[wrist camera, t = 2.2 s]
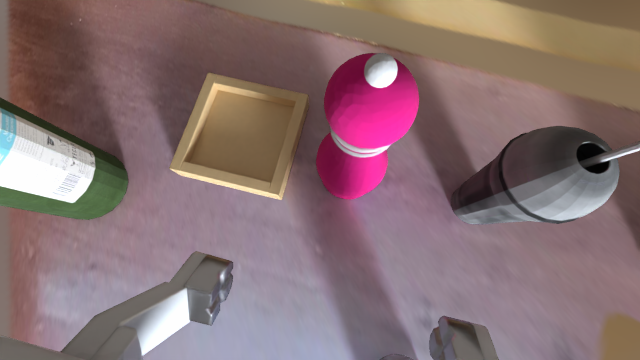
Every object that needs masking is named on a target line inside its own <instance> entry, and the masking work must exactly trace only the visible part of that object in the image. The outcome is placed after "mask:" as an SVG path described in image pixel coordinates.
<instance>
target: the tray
mask: <svg viewBox="0 0 640 360" xmlns="http://www.w3.org/2000/svg"><path fill="white" fill-rule="evenodd" d="M308 108H309V96H308V95H307V94H303V93H298V92H293V91H289V90H284V89H280V88H275V87H271V86H266V85H262V84H257V83H253V82H249V81H244V80H240V79H235V78H231V77H226V76H222V75H217V74H212V73H208V74H207V76H206V79H205V81H204V84H203V86H202V89H201V91H200V94H199V96H198V98H197V101H196V103H195V106H194V108H193V111H192V113H191V116H190V118H189V121H188V123H187V126H186V128H185V130H184V133H183V135H182V138H181V140H180V143H179V145H178V148H177V150H176V153H175V155H174V158H173V160H172V162H171V165H170V167H169V169H171V170H173V171H174V172H176V173H177V174H179V175H182V176H186V177H190V178H194V179H198V180H202V181H206V182H210V183H214V184H218V185H222V186H227V187H231V188H235V189H239V190H243V191H247V192H251V193H255V194H259V195H263V196H267V197H271V198H275V199H279V200H282V198H283V194H284V191H285V187H286V184H287V180H288V177H289V173H290V170H291V166H292V163H293V160H294V156H295V153H296V149H297V146H298V142H299V139H300V135H301V132H302V128H303V125H304V122H305V118H306V115H307V111H308Z"/></svg>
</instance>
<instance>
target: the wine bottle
mask: <svg viewBox="0 0 640 360" xmlns="http://www.w3.org/2000/svg"><path fill="white" fill-rule="evenodd" d="M127 185H128V176H127V171H126V169H125V167H124V165H123V163H122V162H121V161H119V160H118V159H117V158H116V157H115V156H113V155H111V154H109V153H107V152H105V151H103V150H101V149H99V148H97V147H95V146H93V145H91V144H90V143H88V142H86V141H84V140H82V139H80V138H78V137H76V136H74V135H72V134H70V133H68V132H66V131H64V130H62V129H60V128H58V127H56V126H54V125H53V124H51V123H49V122H47V121H45V120H43V119H41V118H39V117H37V116H35V115H33V114H31V113H29V112H27V111H25V110H23V109H21V108H19V107H17V106H16V105H14V104H12V103H10V102H8V101H6V100H4V99H2V98H0V206H6V207H11V208H17V209H23V210H29V211H34V212H40V213H46V214H51V215H57V216H63V217H68V218H74V219H85V220H89V219H93V218H97V217H101V216H103V215H105V214H106V213H108V212H110V211H112V210H113V209H114V208H115V207H116V206H117V205H118V204H119V203H120V202H121V200H122V198H123V196H124V195H125V193H126V189H127Z"/></svg>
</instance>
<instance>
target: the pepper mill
mask: <svg viewBox="0 0 640 360" xmlns="http://www.w3.org/2000/svg"><path fill="white" fill-rule="evenodd" d="M418 107H419V93H418V88H417V85H416V82H415V79H414V77H413V76H412V74H411V72H410V71H409V70H408V69H407V67H406V66H405V65H404V64H402V63H401V62H400V61H398V60H397V59H395V58H393V57H392V56H390V55H389V54H386V53H378V54H376V53H368V54H362V55H359V56H356V57H354V58H351V59H349V60H348V61H346V62H345V63H344V64H342V65H341V66H340V67H339V68H338V69H337V70H336V71H335V72H334V74H333V75H332V77H331V79H330V80H329V82H328V85H327V88H326V92H325V97H324V109H325V114H326V119H327V121H328V123H329V125H330V133H328V134H327V135H326V136H325V138H324V139H323V140H322V142H321V144H320V146H319V148H318V152H317V158H316V166H317V171H318V174H319V176H320V178H321V179H322V182H323V184H324V186H325V187H326V189H327V190H328V191H329V192H330V193H331V194H333V195H334V196H336V197H339V198H342V199H354V198H358V197H360V196H362V195H364V194H365V193H368V192H369V191H371V190H373V189H374V188H375V187H376V186H377V185H378V184H379V183H380V182H381V180H382V179H383V177H384V175H385V172H386V169H387V164H388V157H387V151H386V149H387V148H388V147H389V146H390V144H392V143H393V142H395V141H397V140H398V139H400V138H401V137H402V136H403V135H404V134H405V133H406V132H407V131H408V130H409V128H410V127H411V125H412V123H413V121H414V119H415V117H416V114H417V111H418Z"/></svg>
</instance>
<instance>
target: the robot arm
mask: <svg viewBox="0 0 640 360" xmlns="http://www.w3.org/2000/svg"><path fill="white" fill-rule="evenodd" d="M232 269H233V262H232V261H229V260H226V259H222V258H219V257H215V256H212V255H208V254H204V253H201V252H197V251H196V252H194V253H193V254H191V256H190V257H189V258H188V259H187V261H186V262H185V263H184V264H183V266H182V267H181V268H180V270H179V271H178V272H177V273H176V275H175V276H174V277H173V278H172V280H171V281H170V282H169V283H168V282H164V283H162V284H160V285H158V286H156V287H154V288H152V289H150V290H147V291H145V292H143V293H141V294H139V295H137V296H135V297H133V298H131V299H129V300H127V301H125V302H123V303H121V304H118V305H116V306H114V307H112V308H110V309H108V310H106V311H104V312H102V313H100V314H98V315H96V316H94V317H93V318H92V319H91V320H90V322H89V323H88V324H87V325H86V326H85V327H84V328H83V329H82V330H81V331H80V332H79V333H78V334H77V335H76V336H75V337H74V338H73V339H72V340H71V341H70V342H69V343H68V344H67V346H66V347H65V348H64V349H63V350H62V351H61V352H58V351H54V350H51V349H47V348H44V347H41V346H37V345H34V344H30V343H27V342H23V341H20V340H17V339H13V338H10V337H6V336H3V335H0V360H143V355H144V354H146V353H147V352H148V351H150V350H151V349H153V348H154V347H155V346H157V345H158V344H159V343H161V342H162V341H164V340H165V339H166V338H168V337H169V336H171V335H172V334H173V333H175V332H176V331H177V330H179V329H180V328H182V327H183V326H184V325H186V324H187V323H189V320H190V321H194V322H198V323H202V324H207V325H211V326H212V324H213V322H214V320H215V319H216V317H217V315H218V313H219V311H220V303H222V302H223V301H225V300H226V298H227V296H228V294H229V292H230V289H231V286H232V282H233V275H232V274H231V271H232ZM438 324H439V327H437V328H434V329H433V331H432V333H431V335H430V340H429V350H430V355H431V357H432V358H433V360H499V359H498V356H497V353H496V351H495V348H494V345H493V343H492V340H491V337H490V334H489V332H488V329H487V328H486V327H485V326H482V325H478V324H474V323H470V322H467V321H463V320H459V319H455V318H451V317H447V316H442V317H441V318H440V319H439V321H438Z"/></svg>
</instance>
